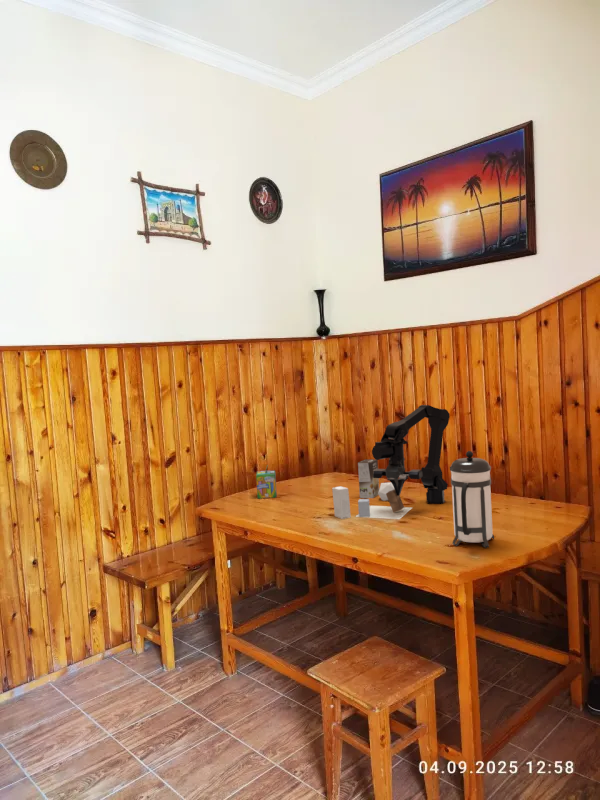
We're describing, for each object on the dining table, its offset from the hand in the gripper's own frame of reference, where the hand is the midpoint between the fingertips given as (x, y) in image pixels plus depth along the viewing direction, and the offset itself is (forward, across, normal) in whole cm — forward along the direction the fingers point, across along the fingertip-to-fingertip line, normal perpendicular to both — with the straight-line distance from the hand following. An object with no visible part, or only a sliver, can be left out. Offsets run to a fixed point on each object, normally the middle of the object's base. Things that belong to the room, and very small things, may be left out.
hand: (398, 495), depth 238 cm
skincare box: (+7, -20, -12) cm, 24 cm away
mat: (+7, -6, -2) cm, 9 cm away
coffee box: (+7, -21, +26) cm, 35 cm away
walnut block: (+6, 0, 0) cm, 6 cm away
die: (+7, -10, +19) cm, 23 cm away
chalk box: (+7, -70, +18) cm, 72 cm away
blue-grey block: (+6, -12, -8) cm, 16 cm away
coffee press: (+7, +34, -32) cm, 47 cm away
